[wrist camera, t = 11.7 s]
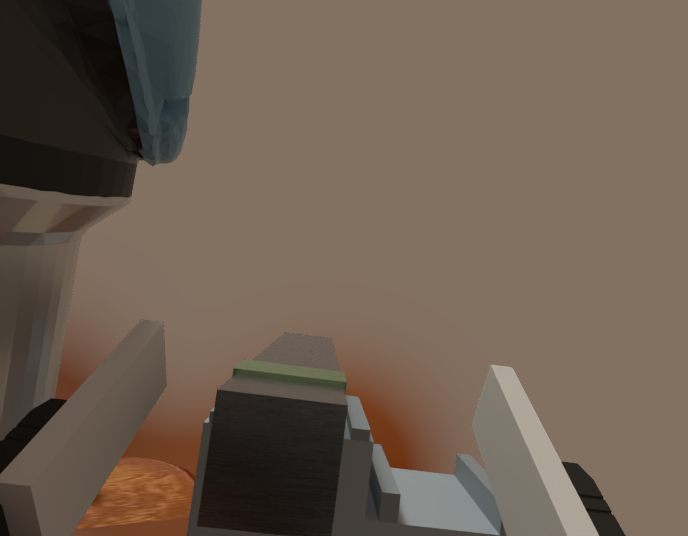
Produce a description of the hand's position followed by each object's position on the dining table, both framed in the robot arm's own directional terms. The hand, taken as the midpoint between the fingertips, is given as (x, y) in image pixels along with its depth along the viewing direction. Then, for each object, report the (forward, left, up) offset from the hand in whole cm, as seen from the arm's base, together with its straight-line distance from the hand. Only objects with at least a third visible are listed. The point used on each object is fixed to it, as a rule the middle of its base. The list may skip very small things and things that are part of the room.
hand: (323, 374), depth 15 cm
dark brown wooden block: (-8, +6, -4) cm, 11 cm away
